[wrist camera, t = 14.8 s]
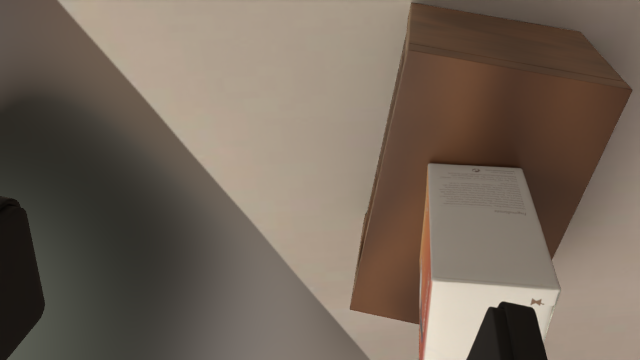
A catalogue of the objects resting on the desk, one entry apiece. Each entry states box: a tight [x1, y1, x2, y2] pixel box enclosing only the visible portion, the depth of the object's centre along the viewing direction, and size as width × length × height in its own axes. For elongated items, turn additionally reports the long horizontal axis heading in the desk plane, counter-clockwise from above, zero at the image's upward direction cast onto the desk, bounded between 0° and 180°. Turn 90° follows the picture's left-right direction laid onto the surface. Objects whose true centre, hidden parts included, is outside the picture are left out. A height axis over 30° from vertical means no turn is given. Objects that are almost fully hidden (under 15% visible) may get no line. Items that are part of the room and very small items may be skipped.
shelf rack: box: [350, 3, 632, 324], centre depth 39 cm, size 12×20×11 cm, turn 172°
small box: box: [419, 163, 561, 360], centre depth 29 cm, size 8×6×10 cm
